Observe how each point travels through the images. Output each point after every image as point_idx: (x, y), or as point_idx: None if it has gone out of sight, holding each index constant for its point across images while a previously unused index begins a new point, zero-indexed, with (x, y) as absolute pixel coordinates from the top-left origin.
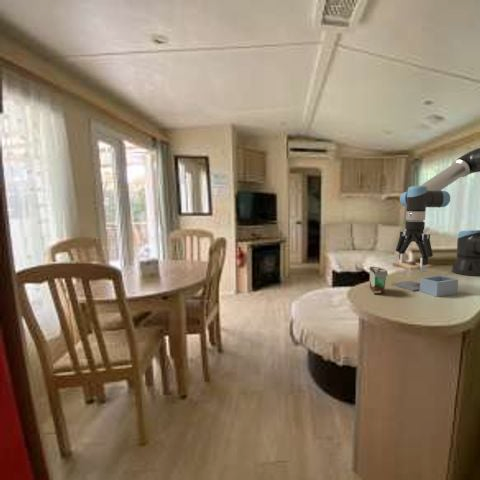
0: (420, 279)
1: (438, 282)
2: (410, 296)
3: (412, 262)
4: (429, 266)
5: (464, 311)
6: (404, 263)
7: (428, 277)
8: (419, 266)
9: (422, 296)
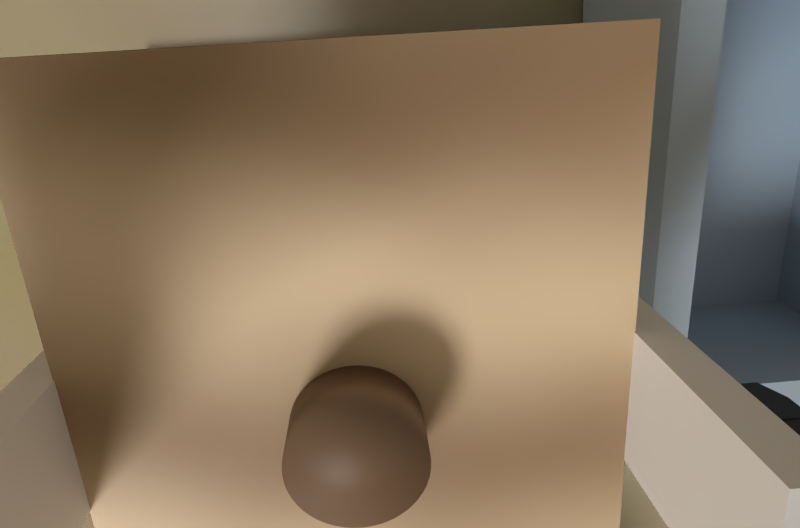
0: None
1: None
2: (642, 518)
3: (405, 505)
4: (637, 153)
5: None
6: (213, 516)
7: (676, 283)
8: (611, 461)
9: None
